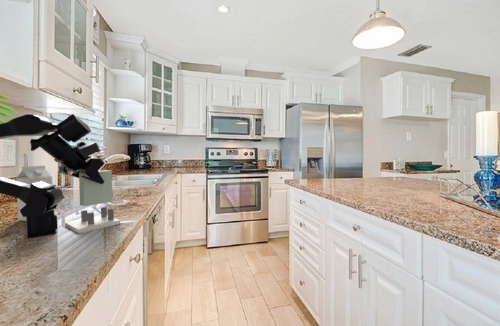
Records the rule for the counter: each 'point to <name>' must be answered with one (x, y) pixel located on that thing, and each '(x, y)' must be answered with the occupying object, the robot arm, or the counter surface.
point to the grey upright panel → (96, 189)
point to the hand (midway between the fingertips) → (100, 182)
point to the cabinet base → (93, 221)
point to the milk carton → (32, 181)
